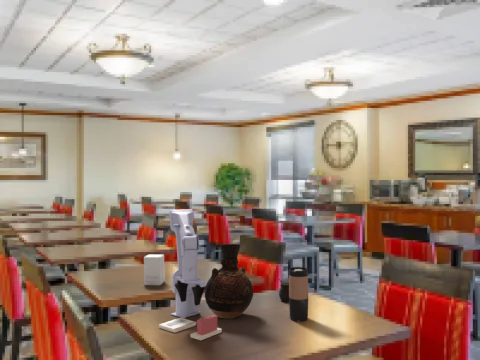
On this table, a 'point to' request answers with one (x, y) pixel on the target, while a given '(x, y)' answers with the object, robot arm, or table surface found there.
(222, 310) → the ceramic vessel
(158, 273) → the supplement box
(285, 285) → the mate gourd
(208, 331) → the stub
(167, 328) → the white flat slab
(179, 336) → the table surface
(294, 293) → the travel mug
